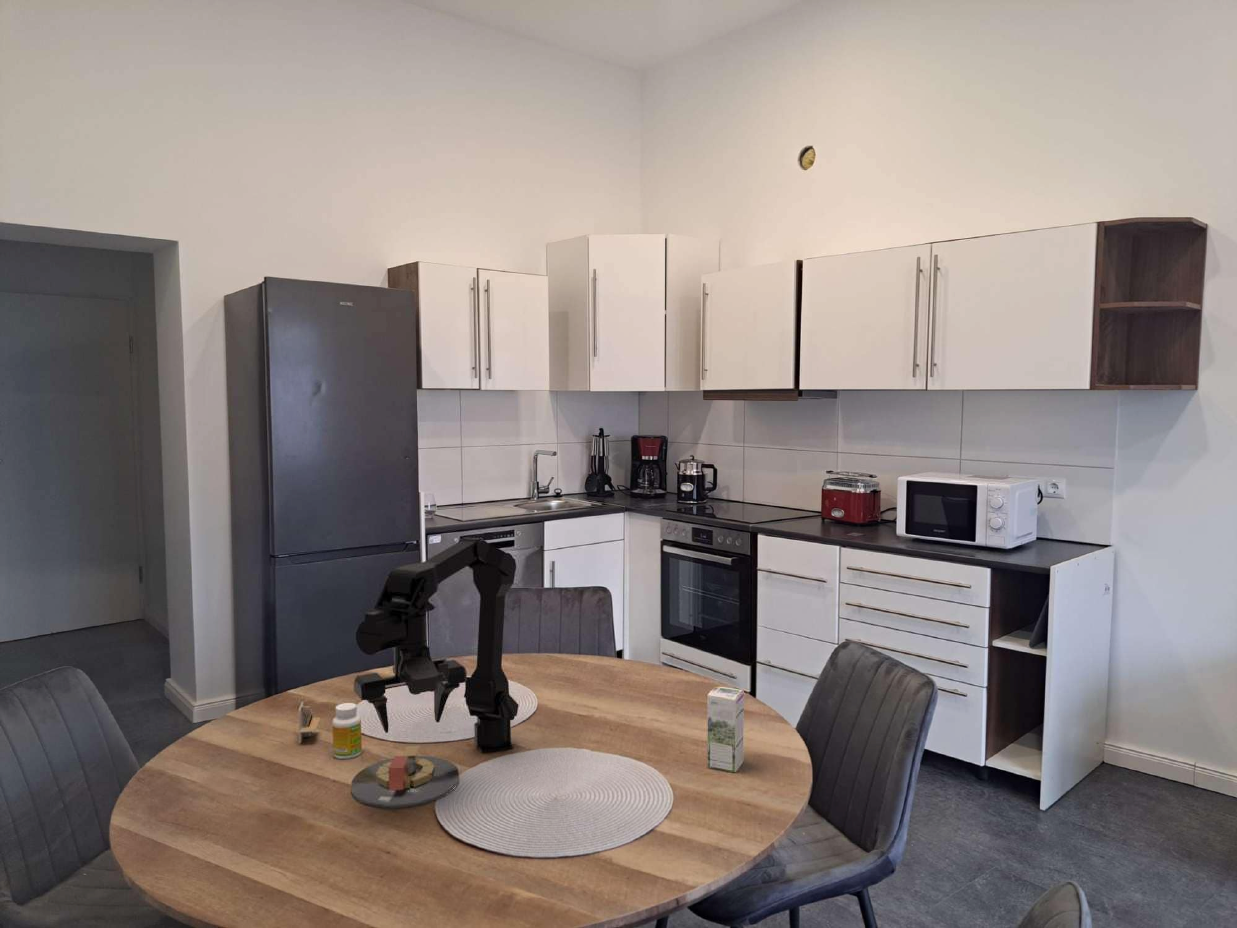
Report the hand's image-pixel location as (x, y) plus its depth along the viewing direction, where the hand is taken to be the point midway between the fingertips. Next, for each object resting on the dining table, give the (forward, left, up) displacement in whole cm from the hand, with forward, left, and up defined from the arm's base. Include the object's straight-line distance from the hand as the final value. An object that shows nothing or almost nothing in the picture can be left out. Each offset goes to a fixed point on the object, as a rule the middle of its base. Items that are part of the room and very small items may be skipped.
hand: (412, 726), depth 150 cm
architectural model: (+17, -35, -13) cm, 41 cm away
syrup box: (-57, +10, -13) cm, 60 cm away
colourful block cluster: (+1, -5, -11) cm, 12 cm away
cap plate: (+1, -5, -12) cm, 13 cm away
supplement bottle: (+10, -23, -13) cm, 28 cm away
